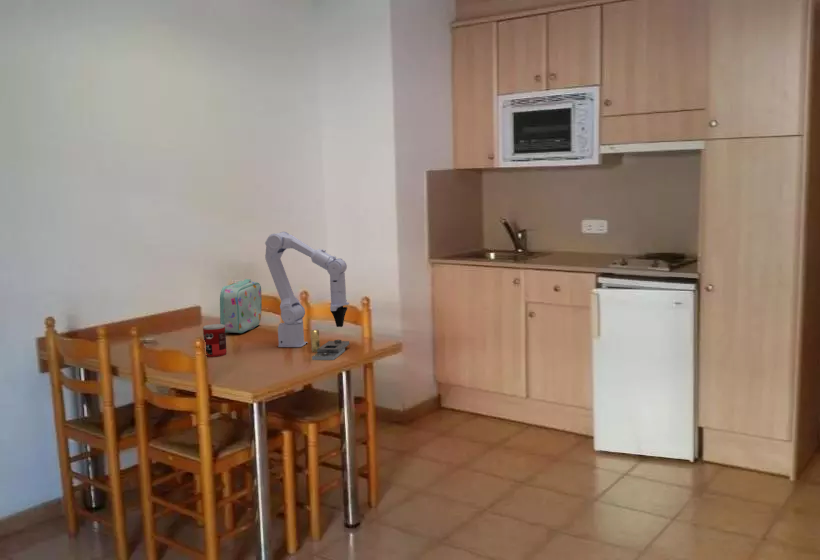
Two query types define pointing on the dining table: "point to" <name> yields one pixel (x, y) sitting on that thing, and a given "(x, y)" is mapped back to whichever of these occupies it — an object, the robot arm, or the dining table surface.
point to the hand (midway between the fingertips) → (339, 326)
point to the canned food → (215, 340)
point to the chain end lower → (326, 355)
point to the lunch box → (240, 306)
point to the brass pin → (315, 340)
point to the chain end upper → (333, 346)
